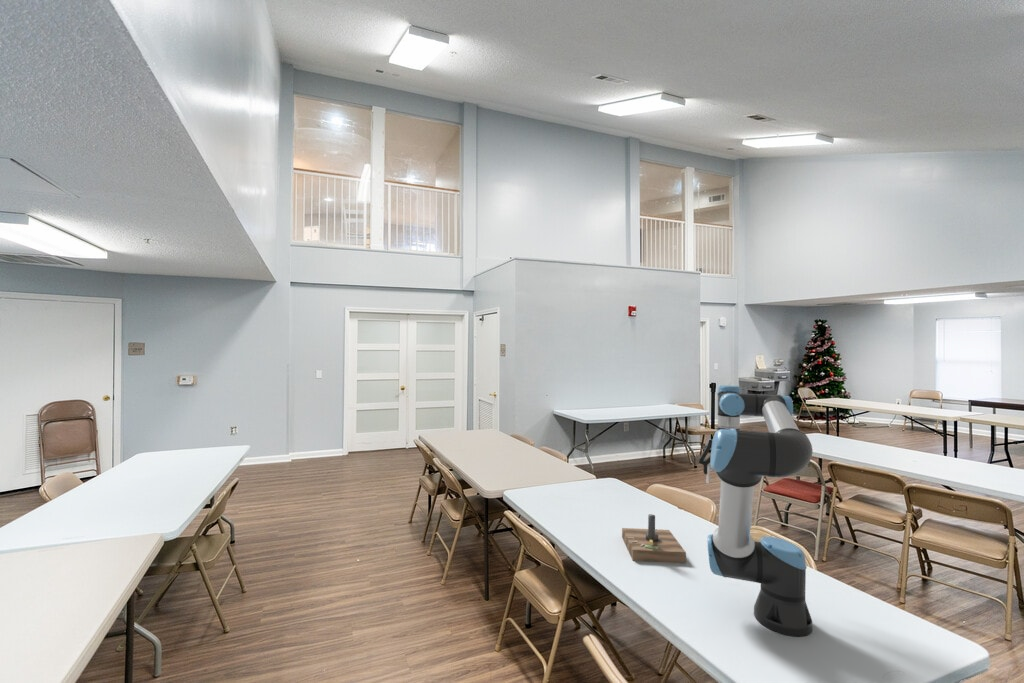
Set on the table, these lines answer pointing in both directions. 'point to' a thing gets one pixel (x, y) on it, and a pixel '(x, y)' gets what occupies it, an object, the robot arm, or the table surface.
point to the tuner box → (653, 546)
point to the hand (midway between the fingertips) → (727, 485)
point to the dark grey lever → (651, 530)
